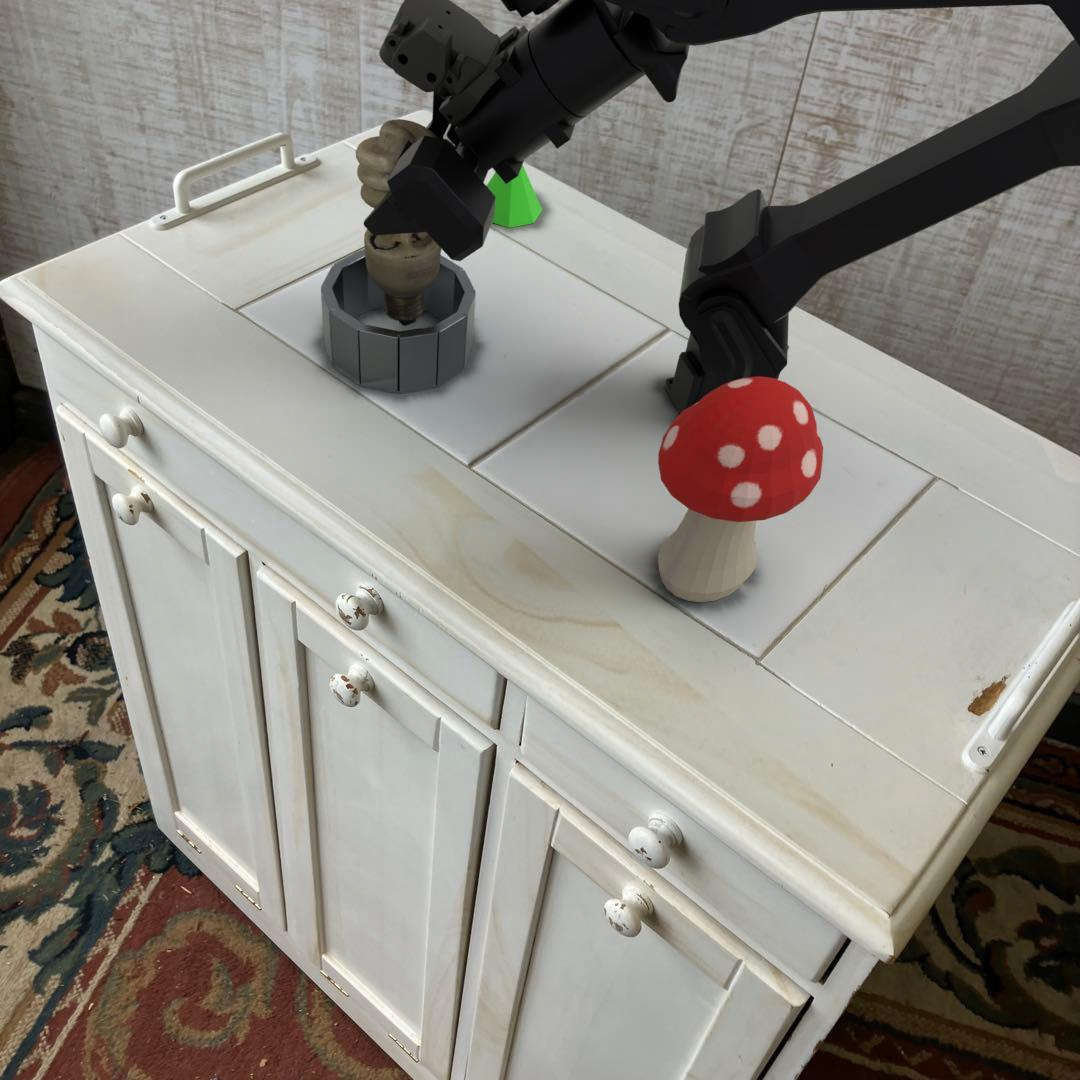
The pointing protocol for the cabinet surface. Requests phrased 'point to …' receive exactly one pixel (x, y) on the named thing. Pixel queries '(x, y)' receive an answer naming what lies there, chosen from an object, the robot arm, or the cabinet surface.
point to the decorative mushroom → (733, 480)
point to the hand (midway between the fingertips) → (380, 206)
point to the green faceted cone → (514, 200)
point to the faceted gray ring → (392, 353)
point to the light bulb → (396, 257)
